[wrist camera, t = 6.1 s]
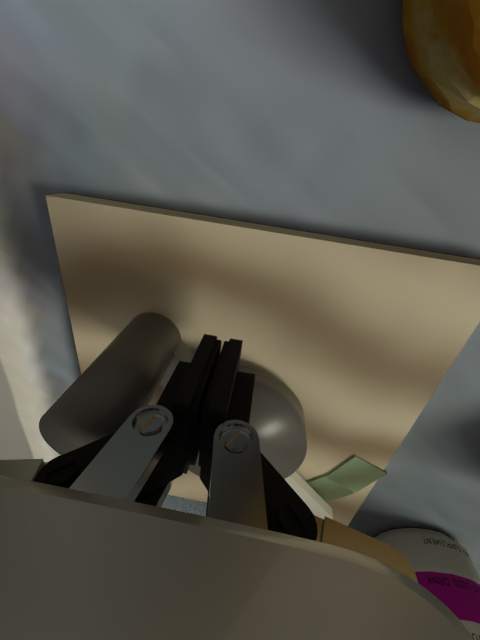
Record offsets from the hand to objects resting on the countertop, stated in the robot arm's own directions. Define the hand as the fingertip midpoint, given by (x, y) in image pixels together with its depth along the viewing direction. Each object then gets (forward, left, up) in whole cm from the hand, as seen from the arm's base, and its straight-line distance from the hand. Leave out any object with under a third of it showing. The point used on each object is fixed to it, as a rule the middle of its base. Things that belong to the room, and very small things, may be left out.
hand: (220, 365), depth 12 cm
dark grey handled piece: (-7, -2, -2) cm, 7 cm away
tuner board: (-6, -1, -4) cm, 7 cm away
